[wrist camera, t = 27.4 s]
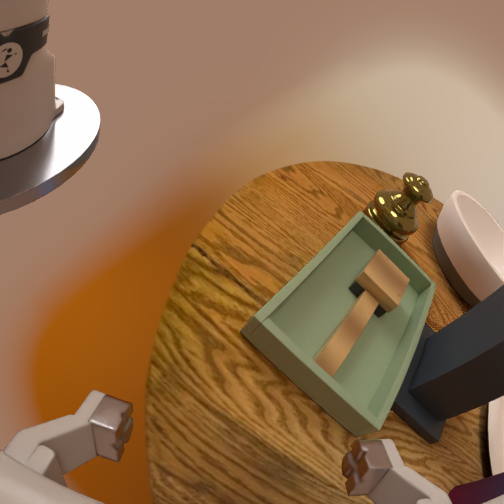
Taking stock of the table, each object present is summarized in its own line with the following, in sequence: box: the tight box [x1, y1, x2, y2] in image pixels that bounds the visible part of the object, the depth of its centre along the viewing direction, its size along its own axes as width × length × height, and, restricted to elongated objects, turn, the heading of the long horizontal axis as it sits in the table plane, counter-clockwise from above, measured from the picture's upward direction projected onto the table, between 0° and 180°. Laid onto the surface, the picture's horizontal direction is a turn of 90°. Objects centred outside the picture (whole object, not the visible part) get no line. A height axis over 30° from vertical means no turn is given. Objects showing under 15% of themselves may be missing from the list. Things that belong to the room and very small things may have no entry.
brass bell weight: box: [363, 173, 433, 247], centre depth 38 cm, size 7×7×10 cm
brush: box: [312, 249, 410, 378], centre depth 27 cm, size 16×5×3 cm, turn 139°
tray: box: [240, 210, 436, 436], centre depth 29 cm, size 14×22×3 cm, turn 140°
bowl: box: [433, 190, 504, 307], centre depth 43 cm, size 22×22×8 cm
